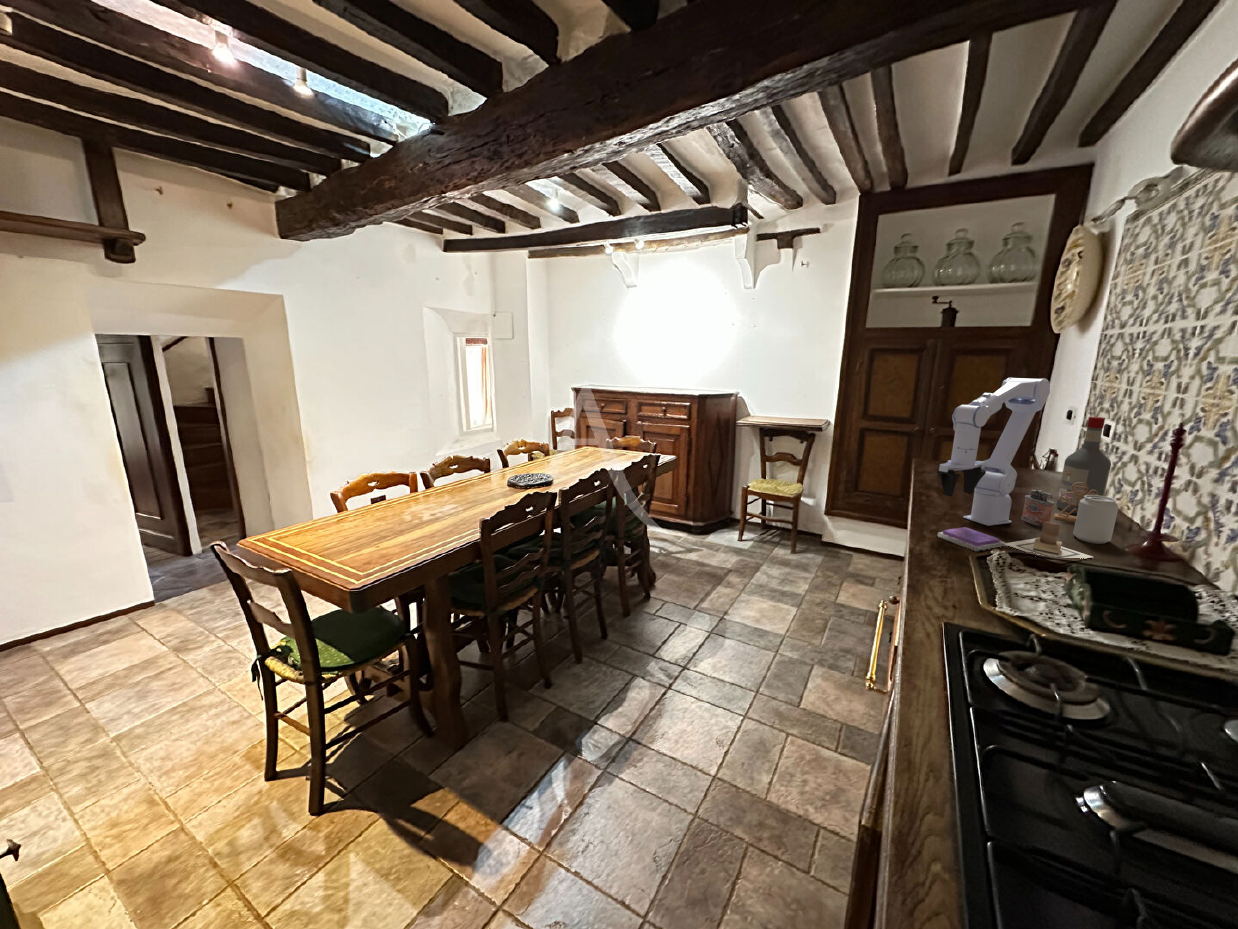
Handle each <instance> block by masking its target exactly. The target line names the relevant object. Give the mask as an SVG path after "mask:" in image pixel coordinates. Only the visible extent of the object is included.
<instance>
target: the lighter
mask: <svg viewBox="0 0 1238 929" xmlns="http://www.w3.org/2000/svg"><path fill="white" fill-rule="evenodd" d="M1024 499H1025V501H1024V505H1023V511H1022V516H1021V517H1020V520H1021V521H1024V522H1026V523H1027V524H1028V523H1029V524H1031V525H1035V526H1038V527H1041V528H1042V527H1043V522H1051V519H1052V518H1051V517H1052V511H1053V507H1054V506H1055V501H1051V500H1050V499H1053V494H1052V493H1049V492H1045V491H1044V490H1043V489H1042V490H1040V489H1038V490H1037V489H1030V494H1026V495H1024Z"/></svg>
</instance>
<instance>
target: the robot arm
mask: <svg viewBox="0 0 1238 929" xmlns="http://www.w3.org/2000/svg"><path fill="white" fill-rule="evenodd" d="M1050 384H1051V383H1050V381H1049V380H1048V379H1047V378H1046V377H1045V378H1044V377H1043V378H1028V377H1027V378H1025V377H1023V378H1021V377H1012V376H1011V377H1008V378H1006V379H1004V380H1003V381H1002V383H1001V387H1000V388H998V389H997V390H995V392H993V393H991V392H984V393H982V395H981V396H979V397H978V398H976V399H974V400H972V402H970V403H968V404H961V405H959V406H957V407H956V408H954V411H953V414H952V417H951V418H952V423H953V425H952V426H953V428H952V429H953V431H954V438H953V444H952V450H951V456H950V457H951V458H950V460H947V462H945V463H940V464H939V468H938V469H937V470H936V471H937V475H938V477H939V479H940V481H941V487H942V491H943V492H942V493H943V495H944V496H946V497H952V496H953V494H954V492H955V488H956V484H957V482H958V480H959V478H960V477H961V474H959V473H956V472H955V471H962V474H963V493H965V494H968V495H973V500H972V507H971V513H970V514H969V515H963V517H962V518H964V519H967V520H969V521H972V522H976V523H978V524H981V525H985V526H995V525H996V526H997V525H1003V524H1010V523H1012V520H1009V519H1010V512H1011V508H1012V498H1011V496H1010V493H1011V492H1012V491H1013V490H1014V488H1015V485H1016V480H1017V476H1018V473H1017V471H1016V469H1015V468H1014V467H1013V466H1012V465H1011V463H1012V462H1013V460H1014V457H1016V453H1017V451H1018V450H1019V447H1020V445H1021V443H1022V442H1023V441H1022V440H1024V437H1025V435H1026V433H1027V431H1028V429H1029V427H1030V425H1031V422H1032V421H1033V419H1034V416H1035V414H1036V413H1037V412H1039V411H1041V410H1043V407H1044V406H1045V404H1046V402H1047V400H1048V398H1049V395H1050V394H1051V389H1050V388H1051V385H1050ZM1003 404H1005V407H1006V408H1007V409H1009V410H1011V411H1012V412H1011V415H1010V417H1009V419H1008V421H1007V422H1006V425H1005V427H1004V429H1003V430H1002V431H1003V432H1002V433H1001V435H1000V437H999V439H998V441H997V443H996V446H995V448H994V449H993V452H992V454H991V456H990V458H988V459H986V460H983V461H982V460H977V455H978V449H979V442H980V437H981V431H982V427H984V426H985V425H986V423H987V422H988V420H989V419H990V418H991V416H992V415H994V414H996V413H997V412H999V411H1000V410H1001V409H1002V407H1003ZM973 493H974V494H973Z"/></svg>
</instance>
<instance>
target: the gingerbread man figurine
mask: <svg viewBox="0 0 1238 929" xmlns="http://www.w3.org/2000/svg"><path fill="white" fill-rule="evenodd" d="M1078 483H1082V484H1085V483H1083V482H1077V483H1074V484H1073V485H1072V490H1073V487H1076V488H1077V489H1078V488H1082V489H1087V490H1086V491H1085V490H1083V491H1077V490H1076V489H1075V490H1076V491H1077V492H1078V494H1077V492H1075V491H1074V490H1073V492H1067V493H1064V494H1062V495H1061V496H1060V498H1059V500H1060V499H1061V498H1062V499H1064V500H1066V501H1065V502H1063V501H1061V500H1060V502H1062V503H1066V502H1067V501H1068V499H1071V500H1070V504H1069V505H1068V506H1067V507H1066V508H1065V509H1064V510H1062V509H1061V511H1060V512H1059V513H1057V512H1056V513H1053V516H1052V517H1053V519H1054V520H1056V521H1064V522H1069V523H1070V522H1071V523H1075V522H1076V517H1077V515H1076V516H1075V515H1071V514H1073V513H1072V512H1074V511H1075V510H1076V511H1077V509H1076V508H1075V509H1074V510H1072V511H1071V512H1070V513H1069V512H1067V511H1065V510H1066V509H1067V508H1068V507H1069V506H1070V505H1074V506H1075V505H1076V506H1077V505H1078V504H1077V503H1079V502H1078V499H1079V496H1080V497H1082V496H1083V495H1089V494H1092V495H1098V492H1097V491H1096V490H1090V491H1089V493H1088V494H1084V493H1086V492H1087V491H1088V489H1089V488H1088V486H1087V484H1085V485H1086V486H1087V488H1085V487H1083V486H1082V487H1079V486H1074V485H1075V484H1078ZM1084 491H1085V492H1084ZM1091 491H1096V492H1097V494H1093V493H1091ZM1080 492H1083V493H1081V494H1080V495H1079V493H1080ZM1068 493H1073V494H1075V495H1074V496H1078V497H1077V501H1076V504H1074V503H1073V504H1072V503H1071V502H1072V498H1067V499H1066V498H1063V497H1062V496H1063V495H1065V494H1068ZM1078 506H1079V505H1078ZM1077 512H1078V511H1077Z"/></svg>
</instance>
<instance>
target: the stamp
mask: <svg viewBox="0 0 1238 929" xmlns="http://www.w3.org/2000/svg"><path fill="white" fill-rule="evenodd" d="M1060 529H1061V524H1059V523H1057V522H1054V521H1050V522H1043V527H1041V532H1040V536H1039V537H1038V536H1036V537H1035V538H1036V539H1035V538H1034V539H1035V542H1034V546H1033V548H1034V549H1033V550H1036V551H1041V552H1045V553H1050V554H1055V555H1058V554H1059V552H1060V548H1061V546H1062V544H1063V542H1062V541H1059V540H1058V537H1059V532H1060Z"/></svg>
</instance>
